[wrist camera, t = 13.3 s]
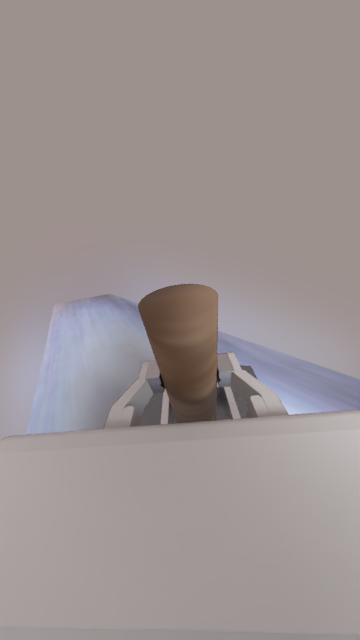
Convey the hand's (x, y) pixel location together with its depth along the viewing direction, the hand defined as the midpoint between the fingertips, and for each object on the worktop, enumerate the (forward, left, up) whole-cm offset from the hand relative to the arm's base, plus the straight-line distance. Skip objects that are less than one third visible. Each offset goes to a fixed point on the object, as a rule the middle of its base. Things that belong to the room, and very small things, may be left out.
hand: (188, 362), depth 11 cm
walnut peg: (0, +1, -6) cm, 6 cm away
